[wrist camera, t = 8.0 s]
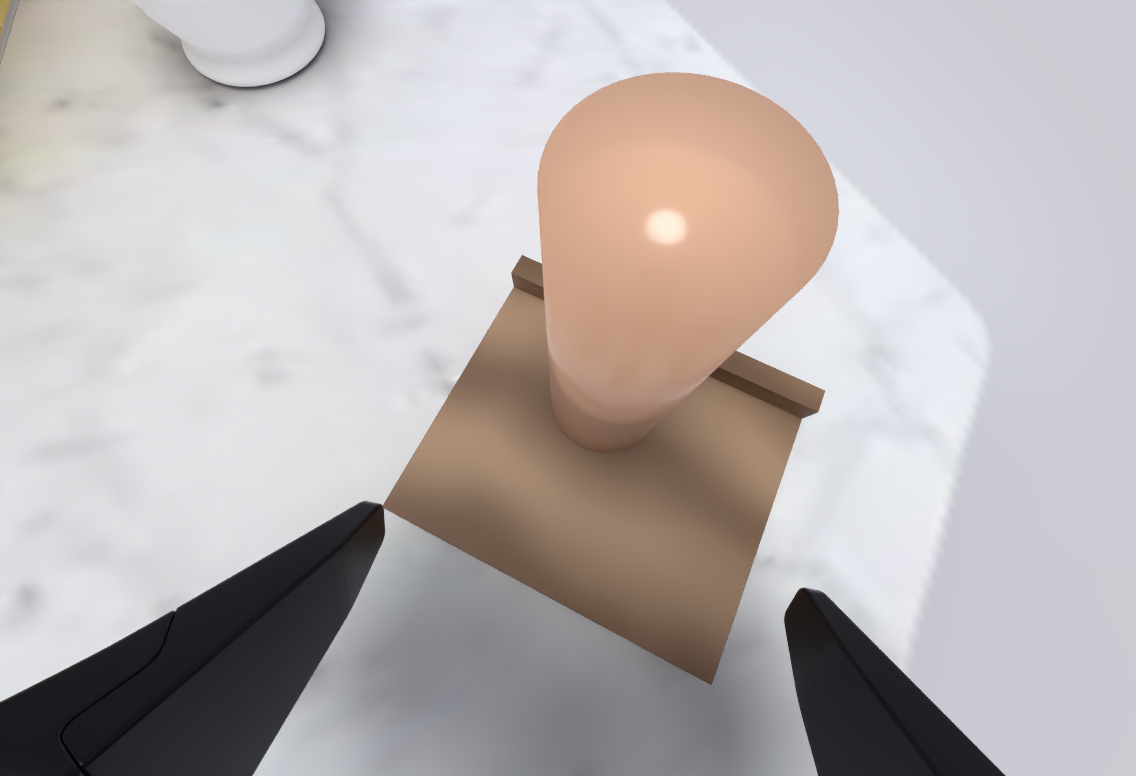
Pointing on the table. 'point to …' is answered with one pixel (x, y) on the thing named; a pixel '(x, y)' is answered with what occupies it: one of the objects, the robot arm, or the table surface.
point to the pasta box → (6, 21)
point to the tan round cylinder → (669, 243)
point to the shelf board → (608, 488)
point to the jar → (243, 36)
